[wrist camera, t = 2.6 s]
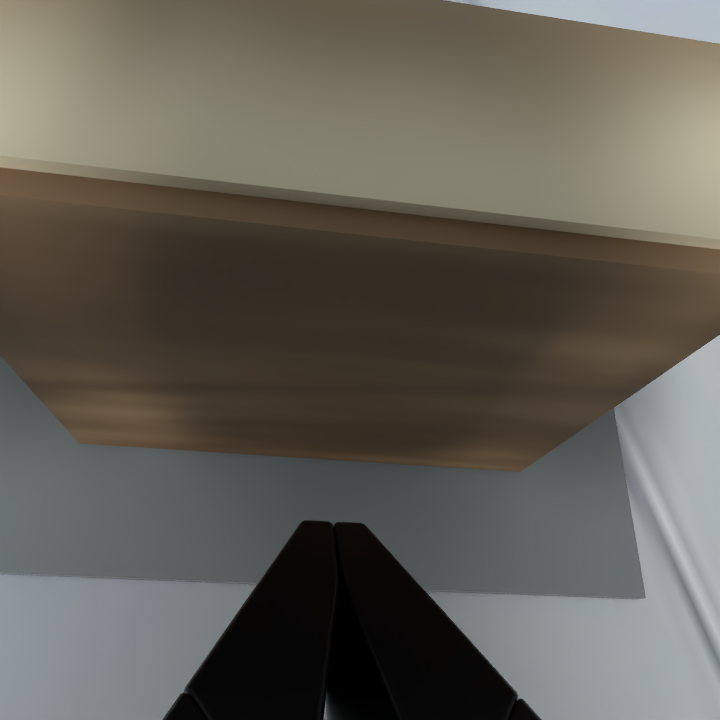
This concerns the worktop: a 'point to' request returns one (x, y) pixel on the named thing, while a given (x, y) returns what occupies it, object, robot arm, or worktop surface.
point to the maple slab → (350, 223)
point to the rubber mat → (309, 511)
